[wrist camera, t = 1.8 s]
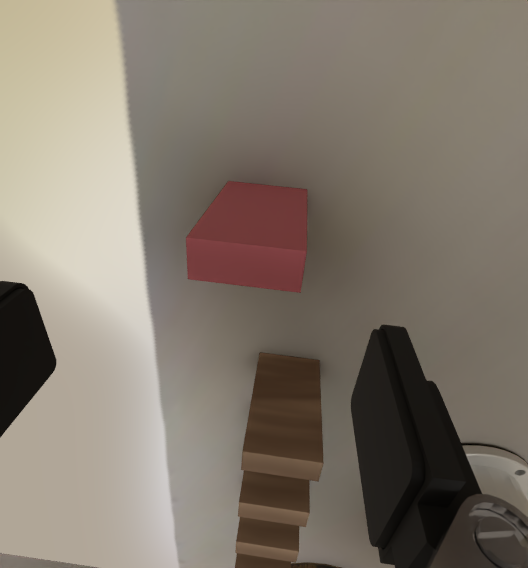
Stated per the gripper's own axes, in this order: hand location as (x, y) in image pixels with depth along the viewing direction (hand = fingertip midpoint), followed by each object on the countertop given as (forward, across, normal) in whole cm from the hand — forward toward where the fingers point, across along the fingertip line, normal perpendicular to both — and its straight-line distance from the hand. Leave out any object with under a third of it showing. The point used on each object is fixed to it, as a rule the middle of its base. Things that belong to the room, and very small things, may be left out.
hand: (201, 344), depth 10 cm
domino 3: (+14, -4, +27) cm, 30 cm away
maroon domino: (+15, -1, +1) cm, 15 cm away
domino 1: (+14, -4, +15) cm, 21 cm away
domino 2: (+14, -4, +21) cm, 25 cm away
